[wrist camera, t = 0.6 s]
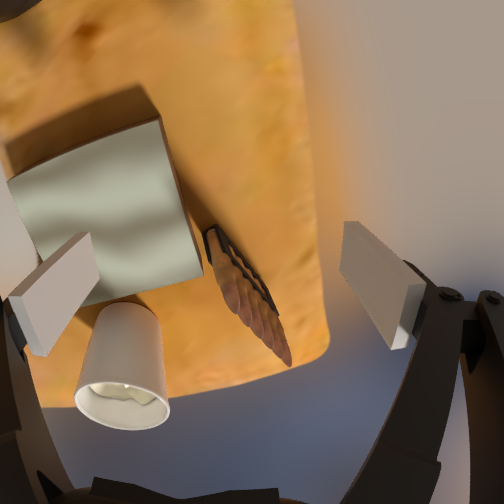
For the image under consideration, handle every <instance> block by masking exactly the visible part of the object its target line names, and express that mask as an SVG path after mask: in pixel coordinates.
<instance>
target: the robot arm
mask: <svg viewBox="0 0 504 504" xmlns="http://www.w3.org/2000/svg"><path fill="white" fill-rule="evenodd" d="M40 1H41V0H0V23H1V22H4V21H7V20H10V19H12V18H15V17H17V16H19V15H20V14H22V13H24V12H26V11H27V10H29V9H30V8H32V7H33V6H35V5H36V4H37V3H39V2H40ZM340 272H341V273H342V275H343V276H344V278H345V279H346V281H347V282H348V284H349V285H350V287H351V288H352V290H353V291H354V293H355V294H356V296H357V297H358V299H359V300H360V302H361V304H362V305H363V306H364V308H365V310H366V311H367V313H368V314H369V316H370V318H371V319H372V321H373V322H374V324H375V325H376V327H377V329H378V330H379V332H380V333H381V335H382V337H383V338H384V340H385V342H386V343H387V345H388V346H389V348H390V350H393V349H399V348H405V347H408V345H409V341H410V339H411V335H412V334H413V336H414V337H415V338H416V340H417V342H416V345H415V347H414V350H413V353H412V355H411V358H410V361H409V364H408V367H407V370H406V372H405V375H404V378H403V380H402V383H401V385H400V388H399V390H398V393H397V395H396V398H395V400H394V402H393V405H392V407H391V409H390V411H389V414H388V416H387V418H386V420H385V422H384V425H383V426H382V428H381V431H380V433H379V435H378V437H377V439H376V441H375V443H374V445H373V447H372V448H371V450H370V452H369V454H368V456H367V458H366V460H365V462H364V463H363V465H362V467H361V469H360V471H359V472H358V474H357V476H356V477H355V479H354V481H353V482H352V484H351V486H350V487H349V489H348V491H347V492H346V494H345V495H344V497H343V498H342V500H341V501H340V503H339V504H429V502H430V500H431V497H432V494H433V492H434V489H435V486H436V483H437V481H438V478H439V474H440V470H441V462H438V461H437V456H438V452H439V449H440V446H441V442H442V438H443V435H444V431H445V428H446V424H447V420H448V415H449V411H450V407H451V402H452V397H453V392H454V387H455V381H456V375H457V369H458V362H459V358H460V364H461V369H462V376H463V382H464V388H465V397H466V405H467V414H468V426H469V441H470V503H469V504H504V297H503V296H502V295H500V294H499V293H496V292H495V291H489V290H484V291H481V292H480V294H479V297H478V300H477V302H471V301H464V297H463V296H462V295H461V293H459V292H458V291H456V290H454V289H451V288H448V287H437V286H436V285H435V284H434V283H433V282H432V281H431V280H430V279H428V278H427V277H426V276H424V274H423V273H422V272H421V271H419V269H418V268H416V267H415V266H414V265H413V264H411V263H409V262H407V261H405V260H402V259H400V258H399V257H398V256H397V255H396V254H395V253H394V252H393V251H392V250H391V249H389V248H388V247H387V246H386V245H385V244H384V243H383V242H381V241H380V240H379V239H378V238H377V237H376V236H375V235H374V234H372V233H371V232H370V231H369V230H368V229H367V228H365V227H364V226H363V225H362V224H361V223H360V222H358V221H345V222H344V233H343V243H342V252H341V262H340ZM99 279H100V277H99V273H98V269H97V264H96V260H95V255H94V251H93V246H92V241H91V236H90V232H78V233H77V234H75V235H74V236H73V237H72V238H71V239H69V240H68V241H67V242H66V243H65V244H63V245H62V246H61V247H60V248H59V249H58V250H56V251H55V252H54V253H53V254H52V255H51V256H50V257H48V258H47V259H46V260H45V261H44V262H43V263H42V264H41V265H40V266H38V267H37V268H36V269H35V270H34V271H33V272H32V273H31V274H30V275H29V276H28V277H27V278H25V279H24V280H23V281H22V282H21V283H20V284H19V285H18V286H17V287H16V288H15V289H14V290H13V291H12V292H11V293H10V294H9V295H8V297H7V298H6V299H5V300H4V301H3V302H2V299H1V296H0V504H308V503H304V502H301V501H297V500H291V499H286V498H279V491H278V488H270V489H254V490H229V491H225V492H220V493H216V494H210V495H205V496H200V497H194V498H188V499H176V498H172V497H169V496H165V495H163V494H160V493H157V492H154V491H151V490H149V489H146V488H143V487H140V486H138V485H135V484H130V483H124V482H118V481H113V480H108V479H103V478H98V477H94V479H93V483H92V487H86V488H79V489H75V488H74V486H73V485H72V483H71V481H70V480H69V478H68V475H67V473H66V471H65V469H64V467H63V465H62V462H61V460H60V458H59V456H58V453H57V451H56V448H55V446H54V443H53V441H52V438H51V436H50V433H49V430H48V428H47V425H46V422H45V419H44V416H43V414H42V410H41V407H40V404H39V401H38V397H37V394H36V391H35V387H34V384H33V380H32V376H31V372H30V368H29V364H28V360H27V356H26V354H25V352H24V350H23V348H24V347H25V345H26V344H28V346H29V348H30V350H31V352H32V354H33V355H37V356H44V357H47V355H48V354H49V352H50V351H51V349H52V347H53V346H54V344H55V343H56V341H57V340H58V338H59V336H60V335H61V333H62V332H63V330H64V329H65V327H66V326H67V324H68V323H69V321H70V320H71V318H72V317H73V316H74V314H75V313H76V311H77V310H78V308H79V307H80V305H81V304H82V303H83V301H84V300H85V298H86V297H87V296H88V294H89V293H90V291H91V290H92V289H93V287H94V286H95V285H96V283H97V282H98V281H99Z"/></svg>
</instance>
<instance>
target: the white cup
mask: <svg viewBox="0 0 504 504" xmlns="http://www.w3.org/2000/svg"><path fill="white" fill-rule="evenodd" d="M74 401H75V404H76V406H77V407H78V409H79V410H80V411H81V412H82V413H83V414H84V415H86V416H87V417H89V418H90V419H92V420H94V421H96V422H98V423H100V424H103V425H105V426H109V427H112V428H118V429H124V430H143V429H149V428H152V427H155V426H158V425H160V424H162V423H163V422H164V421H165V420H166V419H167V418H168V416H169V413H170V407H169V404H168V396H167V388H166V378H165V368H164V357H163V344H162V333H161V326H160V323H159V321H158V319H157V317H156V316H155V315H154V314H153V313H152V312H151V311H150V310H148V309H147V308H145V307H143V306H141V305H138V304H135V303H131V302H117V303H113V304H110V305H108V306H106V307H105V308H103V309H102V310H101V311H100V313H99V314H98V317H97V319H96V322H95V325H94V328H93V331H92V334H91V337H90V340H89V344H88V347H87V351H86V354H85V358H84V361H83V365H82V369H81V372H80V376H79V380H78V384H77V388H76V390H75V393H74Z"/></svg>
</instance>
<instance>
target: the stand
mask: <svg viewBox="0 0 504 504" xmlns="http://www.w3.org/2000/svg"><path fill="white" fill-rule="evenodd" d="M7 185H8V187H9V190H10V192H11V195H12V197H13V199H14V202H15V204H16V207H17V209H18V211H19V213H20V216H21V218H22V220H23V222H24V224H25V226H26V228H27V231H28V233H29V235H30V237H31V239H32V241H33V243H34V245H35V247H36V249H37V251H38V253H39V255H40V256H41V258H42V260H43V262H44V261H45V260H46V259H47V258H48V257H50V256H51V255H52V254H53V253H54V252H55V251H56V250H58V249H59V248H60V247H61V246H62V245H63V244H65V243H66V242H67V241H68V240H69V239H71V238H72V237H73V236H74V235H75V234H77V233H78V232H90V236H91V241H92V246H93V251H94V255H95V260H96V264H97V269H98V273H99V277H100V279H99V281H98V282H97V283H96V285H95V286H94V287H93V289H92V290H91V291H90V293H89V294H88V296H87V297H86V298H85V300H84V301H83V303H82V304H81V305H80V307H84V306H88V305H92V304H96V303H100V302H104V301H108V300H112V299H116V298H120V297H124V296H128V295H132V294H136V293H140V292H144V291H148V290H152V289H155V288H159V287H163V286H167V285H171V284H175V283H179V282H183V281H186V280H190V279H194V278H198V277H202V276H204V273H203V266H202V258H201V254H200V251H199V248H198V245H197V242H196V238H195V235H194V232H193V229H192V225H191V222H190V219H189V215H188V212H187V209H186V205H185V202H184V198H183V195H182V192H181V188H180V185H179V181H178V178H177V174H176V170H175V167H174V163H173V160H172V156H171V152H170V149H169V145H168V141H167V137H166V133H165V130H164V126H163V122H162V118H161V116H158V117H155V118H152V119H148V120H145V121H142V122H139V123H136V124H133V125H130V126H127V127H124V128H121V129H118V130H115V131H112V132H109V133H107V134H104V135H101V136H99V137H96V138H93V139H91V140H88V141H86V142H83V143H81V144H78V145H76V146H74V147H71V148H69V149H66V150H64V151H62V152H60V153H57V154H55V155H53V156H51V157H48V158H46V159H44V160H42V161H40V162H38V163H36V164H34V165H32V166H30V167H28V168H26V169H24V170H22V171H20V172H19V173H18V174H16V175H15V176H14V177H12V178H11V179H9V180H8V181H7ZM80 307H79V308H80Z"/></svg>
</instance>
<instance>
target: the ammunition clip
mask: <svg viewBox="0 0 504 504" xmlns="http://www.w3.org/2000/svg"><path fill="white" fill-rule="evenodd" d="M202 237H203V241H204V246H205V250H206V254H207V258H208V262H209V263H210V264H211V265H212V266H213V269H214V273H215V277H216V280H217V283H218V284H219V286H220V288H221V291H222V293H223V297H224V299H225V302H226V304H227V306H228V307H229V308H230V310H231V311H232V312H233V313H234V314H238V315H239V317H240V319H241V320H242V322H243V323H244V324H245V325H246V326H247V327H250V328H251V330H252V331H253V333H254V334H255V335H256V336H257V337H258V338H260V339H262V341H263V342H264V343H265V345H266V346H267V347H268V348H270V349H272V351H273V352H274V353H275V354H276V356H278V357H279V358H280V359H282V361H283V362H284V363H285V364H286V365H287V366H288V367H291V366H292V357H291V352H290V349H289V346H288V344H287V340H286V338H285V334H284V329H283V327H282V325H281V322H280V320H279V318H278V316H279V313H278V311H277V309H276V306H275V304H274V302H273V300H272V297H271V295H270V293H269V290H268V288H267V287H266V286H265V284H264V283H263V282H262V281H261V279H260V278H259V277H258V276H257V274H256V273H255V272H254V270H253V269H252V268H251V267H250V265H249V264H248V263H247V262H246V260H245V259H244V258H243V257H242V255H241V254H240V253H239V251H238V250H237V249H236V248H235V246H234V245H233V244H232V243H231V241H230V240H229V239H228V237H227V236H226V235H225V234H224V232H223V231H222V230H221V229H220V227H219V226H218V225H217V224H215V225H213V226H212V227H210V228H209V229H207V230H206V231H204V232H203V233H202Z"/></svg>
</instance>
